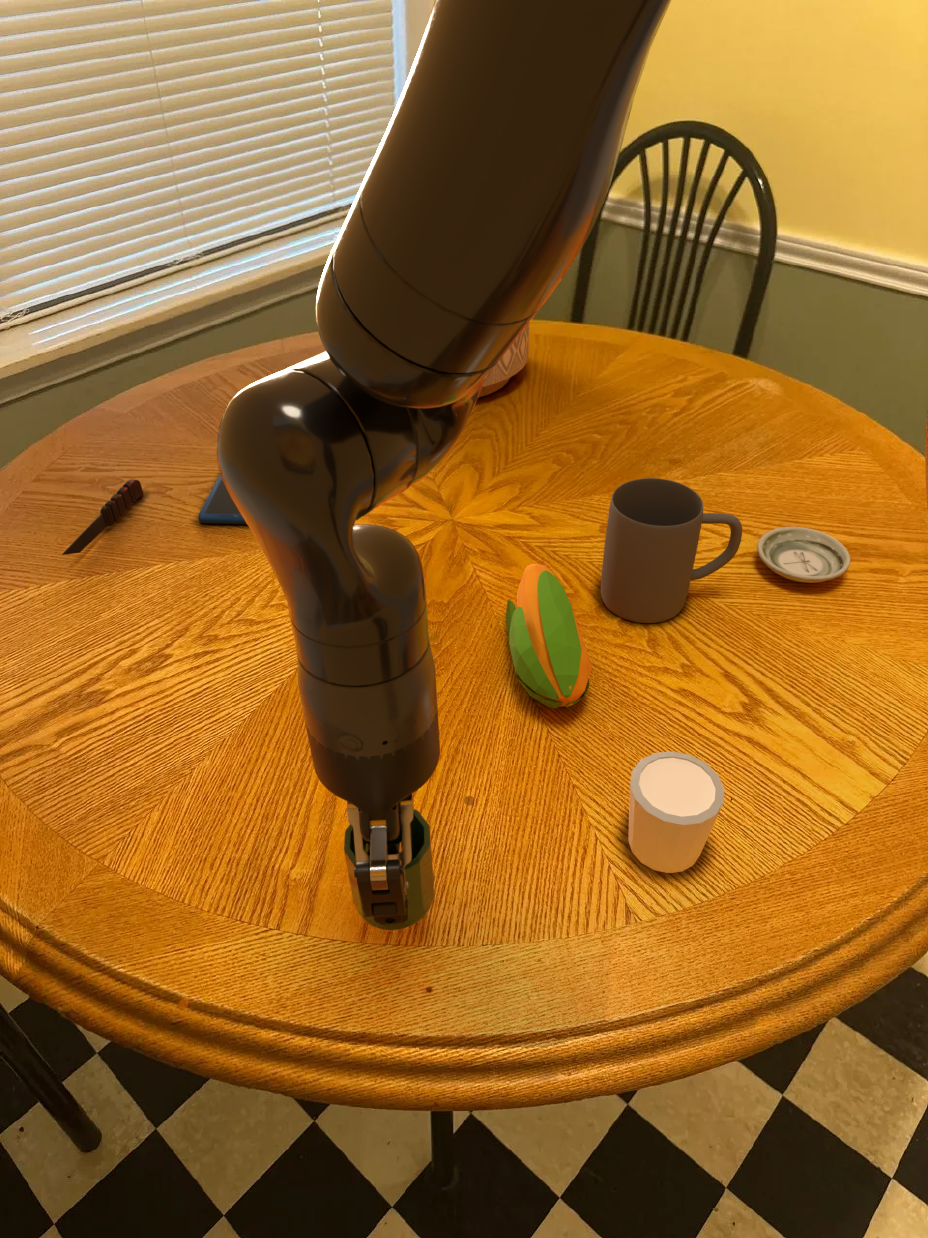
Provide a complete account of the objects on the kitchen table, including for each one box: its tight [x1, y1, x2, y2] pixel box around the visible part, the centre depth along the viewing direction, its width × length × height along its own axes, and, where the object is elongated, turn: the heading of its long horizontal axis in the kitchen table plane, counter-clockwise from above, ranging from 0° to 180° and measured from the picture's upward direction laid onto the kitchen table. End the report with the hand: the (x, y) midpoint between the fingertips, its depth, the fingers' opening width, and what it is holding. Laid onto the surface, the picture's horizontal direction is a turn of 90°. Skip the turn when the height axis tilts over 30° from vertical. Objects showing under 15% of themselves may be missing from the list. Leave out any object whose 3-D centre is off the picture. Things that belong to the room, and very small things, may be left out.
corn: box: [505, 563, 593, 709], centre depth 83 cm, size 7×8×20 cm
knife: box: [61, 478, 144, 556], centre depth 101 cm, size 17×1×3 cm, turn 168°
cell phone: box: [197, 473, 247, 525], centre depth 108 cm, size 7×14×1 cm, turn 177°
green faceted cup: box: [343, 809, 435, 931], centre depth 58 cm, size 6×6×6 cm
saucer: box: [756, 526, 851, 584], centre depth 94 cm, size 10×10×2 cm
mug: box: [600, 477, 743, 624], centre depth 88 cm, size 14×9×12 cm
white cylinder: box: [627, 750, 725, 874], centre depth 66 cm, size 7×7×7 cm
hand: (392, 876), depth 59 cm, fingers closed on green faceted cup, 5 cm apart
